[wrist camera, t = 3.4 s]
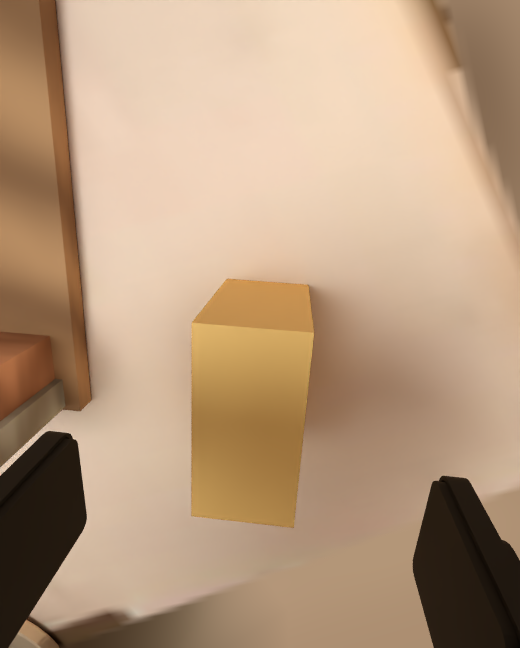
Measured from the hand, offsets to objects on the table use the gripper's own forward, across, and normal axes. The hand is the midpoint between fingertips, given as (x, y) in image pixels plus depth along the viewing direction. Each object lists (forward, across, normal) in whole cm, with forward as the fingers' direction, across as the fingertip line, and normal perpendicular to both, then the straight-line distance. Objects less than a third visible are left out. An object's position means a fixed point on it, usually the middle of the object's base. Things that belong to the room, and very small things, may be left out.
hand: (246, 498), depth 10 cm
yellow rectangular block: (+11, +1, +1) cm, 11 cm away
